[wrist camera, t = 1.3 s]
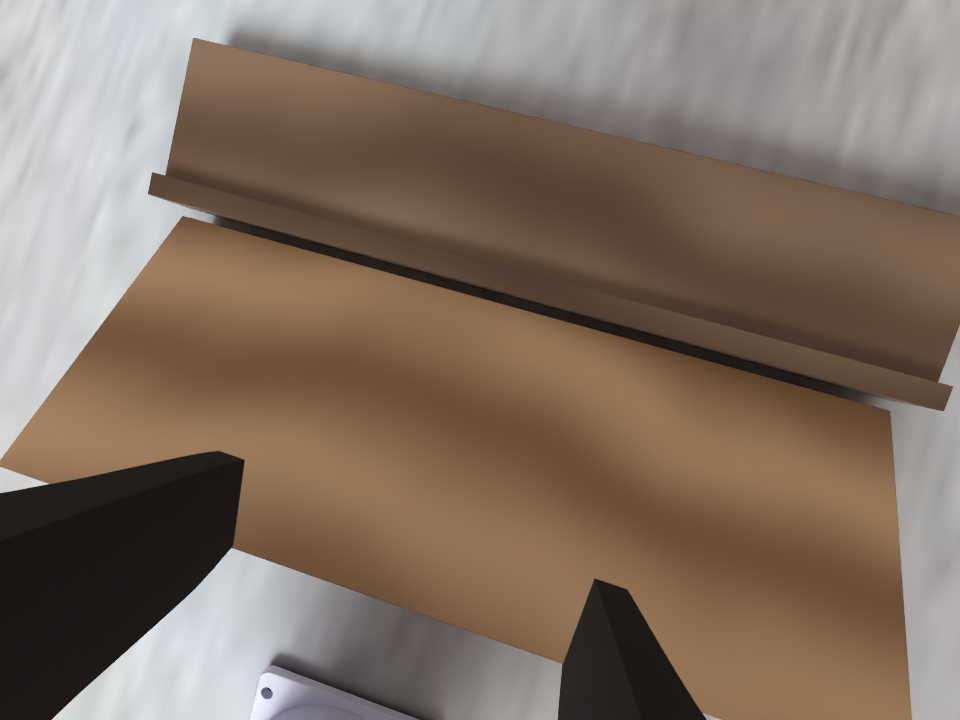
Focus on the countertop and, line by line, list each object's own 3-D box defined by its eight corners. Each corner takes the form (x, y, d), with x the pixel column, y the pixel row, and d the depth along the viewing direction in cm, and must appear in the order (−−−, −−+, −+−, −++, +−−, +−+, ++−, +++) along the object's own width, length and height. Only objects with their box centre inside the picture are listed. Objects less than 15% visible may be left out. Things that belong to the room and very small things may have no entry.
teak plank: (868, 765, 13) (916, 787, 11) (38, 475, 15) (-4, 465, 14) (855, 424, 17) (890, 411, 15) (202, 241, 19) (182, 215, 18)
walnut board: (893, 401, 17) (943, 411, 15) (189, 208, 20) (147, 193, 17) (955, 234, 16) (1017, 221, 14) (220, 60, 19) (181, 27, 17)
